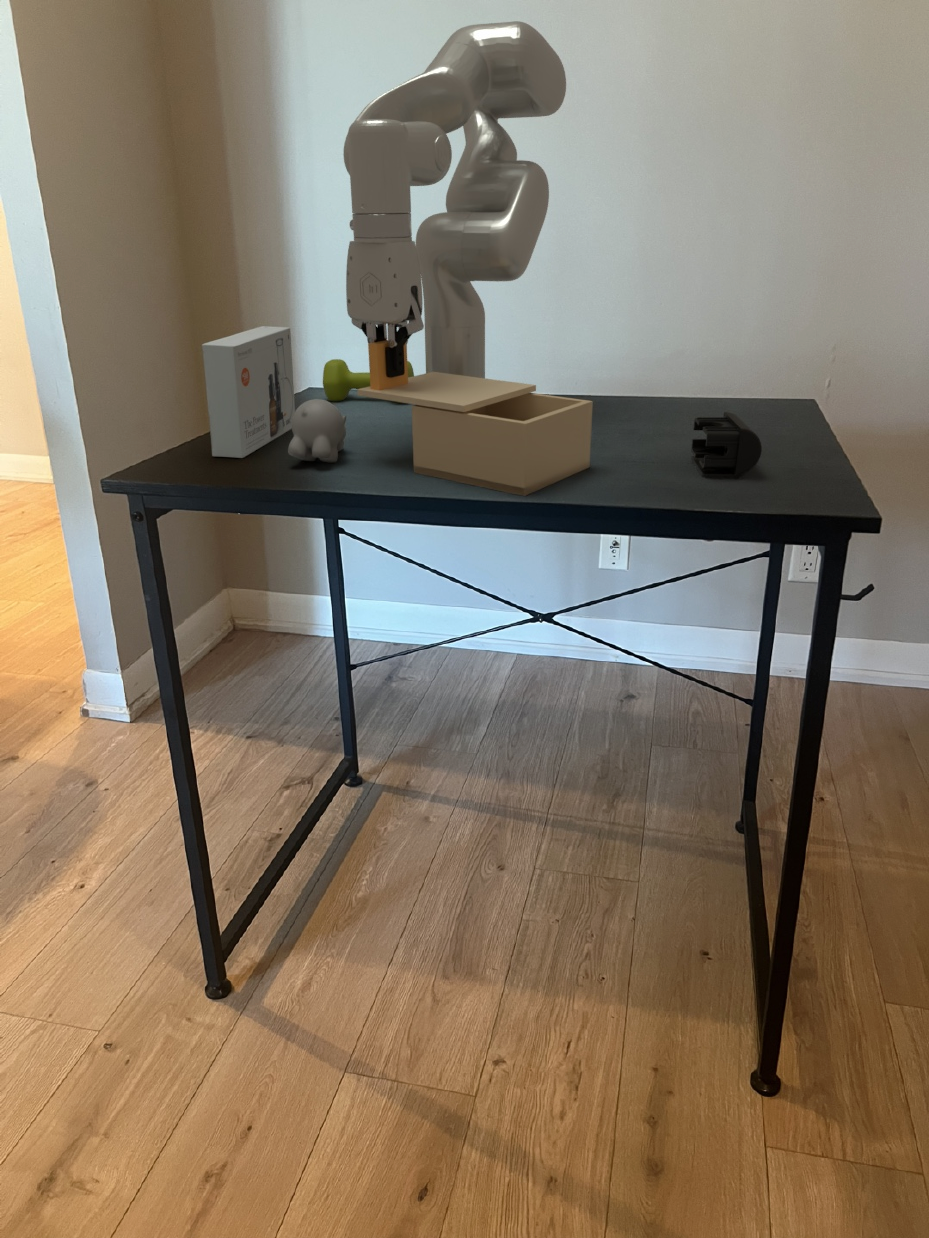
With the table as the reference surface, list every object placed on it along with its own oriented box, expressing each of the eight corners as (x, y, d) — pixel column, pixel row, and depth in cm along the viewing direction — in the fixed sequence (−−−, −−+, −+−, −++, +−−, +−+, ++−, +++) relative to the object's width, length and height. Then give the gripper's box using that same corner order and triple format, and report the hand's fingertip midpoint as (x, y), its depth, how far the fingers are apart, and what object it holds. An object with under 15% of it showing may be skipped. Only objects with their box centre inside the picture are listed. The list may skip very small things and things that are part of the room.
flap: (433, 377, 133) (432, 330, 130) (535, 391, 123) (537, 340, 120) (357, 395, 121) (354, 344, 118) (463, 412, 111) (463, 356, 108)
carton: (483, 448, 131) (483, 386, 128) (589, 467, 121) (592, 401, 118) (413, 472, 120) (411, 405, 116) (524, 496, 110) (525, 424, 106)
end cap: (758, 480, 116) (765, 428, 113) (703, 479, 116) (709, 428, 113) (740, 459, 125) (746, 411, 122) (689, 459, 125) (694, 411, 122)
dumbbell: (320, 404, 162) (317, 363, 159) (334, 395, 169) (331, 356, 166) (407, 407, 159) (406, 365, 156) (418, 397, 166) (417, 358, 163)
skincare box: (246, 459, 127) (233, 345, 120) (211, 458, 128) (196, 344, 121) (300, 426, 146) (291, 325, 139) (269, 424, 147) (258, 324, 140)
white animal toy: (361, 470, 131) (367, 412, 130) (326, 459, 119) (333, 396, 119) (316, 466, 133) (323, 409, 132) (278, 455, 121) (285, 392, 121)
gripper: (318, 229, 116) (329, 373, 124) (410, 231, 107) (415, 385, 115) (357, 228, 121) (365, 366, 129) (448, 229, 112) (450, 377, 120)
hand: (389, 374), depth 122 cm, fingers closed on flap
